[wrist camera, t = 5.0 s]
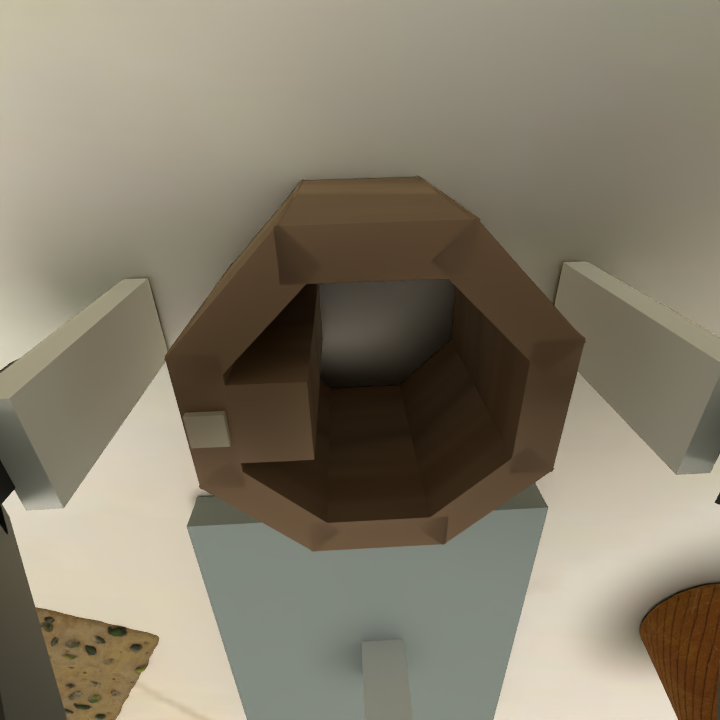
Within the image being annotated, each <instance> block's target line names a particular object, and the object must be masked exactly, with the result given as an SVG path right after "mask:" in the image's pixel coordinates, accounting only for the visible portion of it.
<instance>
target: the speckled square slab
mask: <svg viewBox="0 0 720 720" xmlns="http://www.w3.org/2000/svg"><path fill="white" fill-rule="evenodd" d="M35 609H36V612H37V616H38V619H39V623H40V626H41V630H42V633H43V637H44V640H45V644H46V647H47V651H48V654H49V658H50V661H51V665H52V668H53V672H54V675H55V679H56V682H57V686H58V689H59V693H60V696H61V700H62V703H63V707H64V710H65V714H66V717H67V720H115V719H116V718H117V716H118V715H119V714H120V711H121V708H122V705H123V703H124V702H125V700H126V699H127V698H128V696H129V693H130V691H131V689H132V688H133V687H134V685H135V684H136V681H137V680H138V679H139V676H140V673H141V672H143V671H144V670H145V669H146V667H147V665H148V659H149V658H150V656H151V654H152V653H153V651H154V649H155V647H156V646H157V644H158V641H159V637H158V636H157V635H153V634H151V633H147V632H142V631H137V630H132V629H129V628H125V627H121V626H116V625H110V624H107V623H103V622H100V621H96V620H91V619H84V618H79V617H75V616H72V615H66V614H63V613H60V612H56V611H51V610H47V609H41V608H36V607H35Z"/></svg>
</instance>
